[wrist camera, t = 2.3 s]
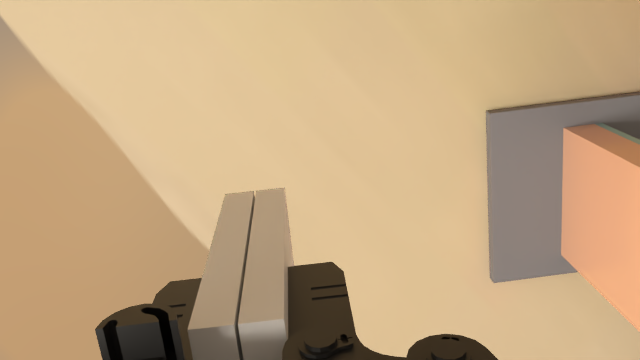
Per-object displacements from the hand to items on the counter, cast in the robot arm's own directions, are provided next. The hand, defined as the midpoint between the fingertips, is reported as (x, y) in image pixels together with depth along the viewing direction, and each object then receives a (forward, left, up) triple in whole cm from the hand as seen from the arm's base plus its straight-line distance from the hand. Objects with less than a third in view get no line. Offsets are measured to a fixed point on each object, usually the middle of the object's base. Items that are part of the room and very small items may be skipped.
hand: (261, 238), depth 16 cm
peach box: (+17, +12, -22) cm, 30 cm away
